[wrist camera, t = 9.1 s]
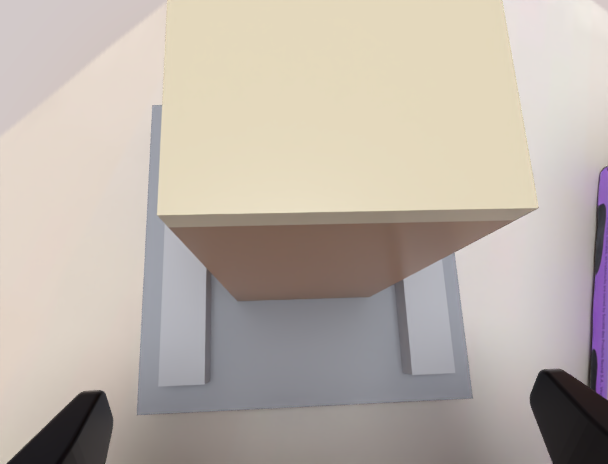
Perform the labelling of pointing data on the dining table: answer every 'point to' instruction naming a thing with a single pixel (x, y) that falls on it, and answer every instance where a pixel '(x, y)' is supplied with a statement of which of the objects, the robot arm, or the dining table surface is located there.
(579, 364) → the dining table surface
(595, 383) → the candy box
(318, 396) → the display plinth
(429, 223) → the cream-topped square box
